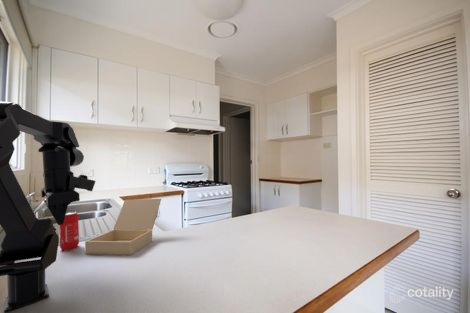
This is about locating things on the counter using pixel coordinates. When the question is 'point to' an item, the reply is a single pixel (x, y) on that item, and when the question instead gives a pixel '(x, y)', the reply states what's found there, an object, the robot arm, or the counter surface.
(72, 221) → the beverage can
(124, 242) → the mailer box
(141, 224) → the mailer lid
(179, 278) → the counter surface
